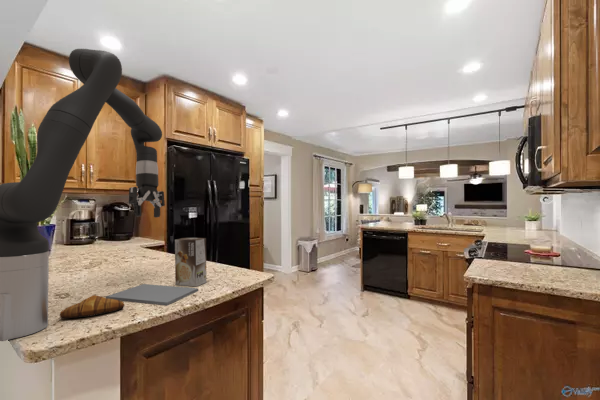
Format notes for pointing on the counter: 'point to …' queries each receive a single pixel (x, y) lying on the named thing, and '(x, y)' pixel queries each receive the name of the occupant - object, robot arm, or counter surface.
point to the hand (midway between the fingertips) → (147, 216)
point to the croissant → (91, 307)
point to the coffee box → (190, 261)
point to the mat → (153, 294)
